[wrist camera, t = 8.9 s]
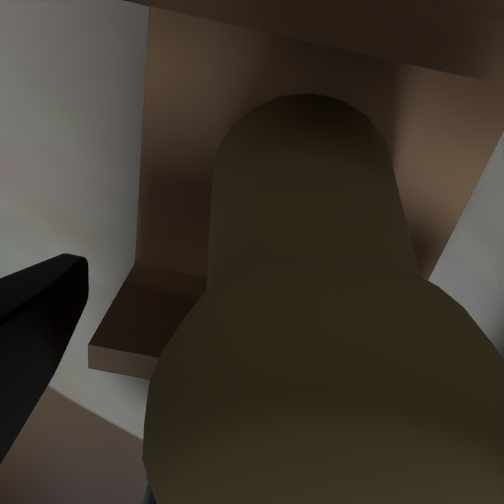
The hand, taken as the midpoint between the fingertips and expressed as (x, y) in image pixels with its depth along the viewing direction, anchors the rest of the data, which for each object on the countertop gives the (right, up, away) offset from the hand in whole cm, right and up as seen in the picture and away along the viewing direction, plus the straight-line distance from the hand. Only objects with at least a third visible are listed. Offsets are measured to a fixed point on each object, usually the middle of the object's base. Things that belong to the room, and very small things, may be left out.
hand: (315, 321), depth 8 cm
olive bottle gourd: (0, +4, +6) cm, 7 cm away
